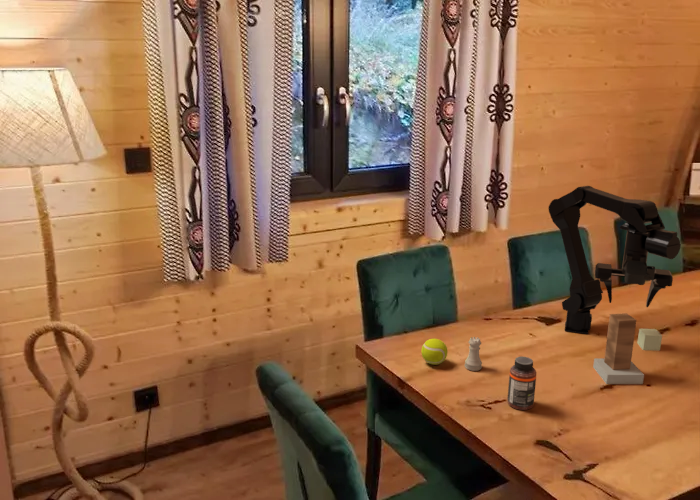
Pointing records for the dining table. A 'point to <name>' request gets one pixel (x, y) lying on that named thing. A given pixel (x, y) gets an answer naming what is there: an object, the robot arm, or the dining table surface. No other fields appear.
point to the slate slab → (618, 373)
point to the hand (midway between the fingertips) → (628, 304)
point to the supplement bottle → (522, 384)
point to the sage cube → (649, 339)
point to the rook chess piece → (473, 355)
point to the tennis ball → (434, 351)
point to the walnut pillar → (620, 341)
